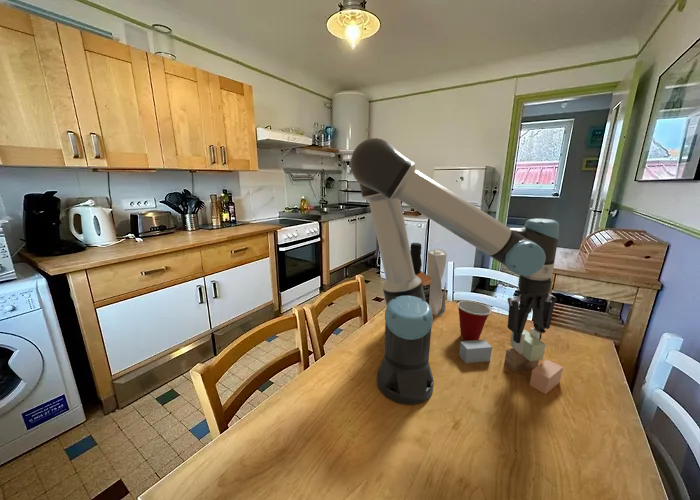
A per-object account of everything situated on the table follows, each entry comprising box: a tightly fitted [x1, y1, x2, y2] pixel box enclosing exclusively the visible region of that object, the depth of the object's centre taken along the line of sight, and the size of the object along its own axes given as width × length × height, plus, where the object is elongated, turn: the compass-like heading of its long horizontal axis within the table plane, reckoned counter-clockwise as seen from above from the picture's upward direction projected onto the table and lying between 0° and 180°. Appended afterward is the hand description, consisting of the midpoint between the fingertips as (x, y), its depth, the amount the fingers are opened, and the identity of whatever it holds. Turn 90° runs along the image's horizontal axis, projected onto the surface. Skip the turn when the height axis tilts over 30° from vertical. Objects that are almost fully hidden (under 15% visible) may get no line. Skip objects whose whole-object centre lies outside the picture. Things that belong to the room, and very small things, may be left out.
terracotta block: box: [529, 359, 564, 395], centre depth 77 cm, size 8×4×5 cm, turn 123°
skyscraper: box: [426, 248, 448, 318], centre depth 115 cm, size 8×8×28 cm
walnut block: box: [504, 347, 540, 372], centre depth 84 cm, size 8×4×5 cm, turn 102°
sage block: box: [509, 328, 546, 361], centre depth 83 cm, size 8×4×5 cm, turn 9°
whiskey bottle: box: [409, 242, 432, 304], centre depth 103 cm, size 10×10×32 cm
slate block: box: [458, 339, 493, 364], centre depth 88 cm, size 8×4×5 cm, turn 97°
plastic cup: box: [457, 300, 492, 341], centre depth 98 cm, size 11×11×12 cm
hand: (525, 350), depth 84 cm, fingers closed on sage block, 4 cm apart
